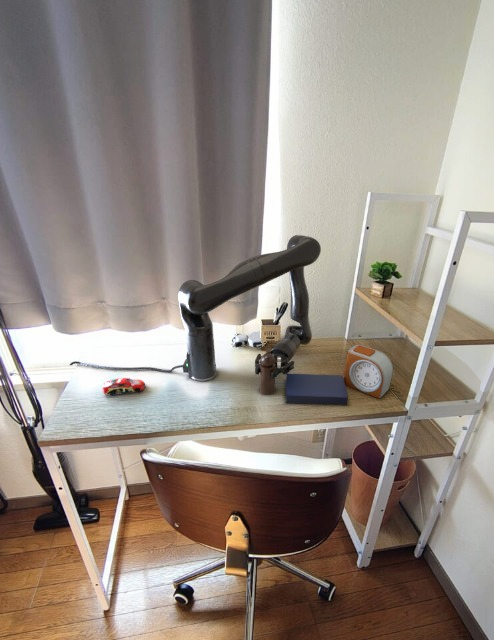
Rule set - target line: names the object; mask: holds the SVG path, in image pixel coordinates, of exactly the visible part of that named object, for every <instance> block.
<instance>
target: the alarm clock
mask: <svg viewBox="0 0 494 640" xmlns="http://www.w3.org/2000/svg"><path fill="white" fill-rule="evenodd" d="M393 375H394V366H393V363H392V360H391V358H390V357H389V356H388V355H387V354H386V353H385V352H382V351H380V350H378V349H374V348H372V347H369V346H366V345H363V344H355V345H354V346H352V347H351V348H350V349H348V350H347V357H346V362H345V367H344V374H343V379H344V383H345V387H349V388H352V389H354V390H356V391H358V392H362V393H364V394H367V395H369V396H372V397H375V398H377V399H381V398H382V397H383V396H384V395H385V394H386V393H387V392H388V391H389V390H390V387H391V383H392V379H393Z"/></svg>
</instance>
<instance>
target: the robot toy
mask: <svg viewBox="0 0 494 640" xmlns="http://www.w3.org/2000/svg"><path fill="white" fill-rule="evenodd" d="M260 332H261V331H252V332H251V333H250V334H249V335H248V334H243V333H234V334H233V338H232V339H231V342H232V343H231V346H230V347H231V348H235V349H236V348H242V347H245V346H249V347H250V348H253V349H257V350H259V349H262V348H263V347H262V345H264V344H266V343H264V344H262V343H261V338H260ZM236 334H237V335H236ZM261 347H262V348H261Z"/></svg>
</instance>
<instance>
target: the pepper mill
mask: <svg viewBox="0 0 494 640" xmlns="http://www.w3.org/2000/svg"><path fill="white" fill-rule="evenodd" d="M270 351H271V350H270V349H267V350H265V353H264V354H261V356H262V357H261V359H259V363H261V364H260V373H259V392H260V393H261V394H263V395H265V396H266V395H267V396H268V395H269V396H270V395H272V394H274V393H275V392H276V391H275V389H276V387H275V386H276V378H274V379H273V378H271V373H272V372H273V370H274V369H275V364H274V362H275V358H274V356H273V355H272V354H270Z"/></svg>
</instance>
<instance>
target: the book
mask: <svg viewBox="0 0 494 640" xmlns="http://www.w3.org/2000/svg"><path fill="white" fill-rule="evenodd" d="M285 375H286V376H285V377H286V380H285V404H302V405H305V404H306V405H331V406H332V405H335V406H348V401H349V395H348V390H347V386H346V385H345V383H344V374H341V375H340V374H338V375H337V374H317V373H316V374H314V373H313V374H312V373H290V372H288V373H287V374H285Z"/></svg>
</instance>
